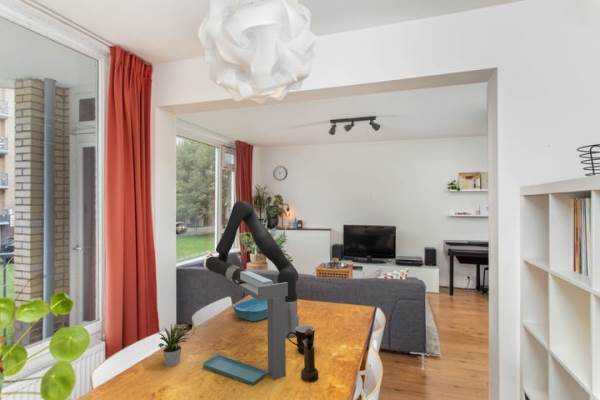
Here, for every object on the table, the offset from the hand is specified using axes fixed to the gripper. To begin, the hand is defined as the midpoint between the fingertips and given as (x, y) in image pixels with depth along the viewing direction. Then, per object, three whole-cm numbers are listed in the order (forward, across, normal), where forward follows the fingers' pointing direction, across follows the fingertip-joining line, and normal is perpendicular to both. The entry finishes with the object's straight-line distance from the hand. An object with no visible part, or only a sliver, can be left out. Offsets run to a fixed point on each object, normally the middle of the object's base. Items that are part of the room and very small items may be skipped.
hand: (261, 287), depth 148 cm
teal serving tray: (+13, -20, +28) cm, 37 cm away
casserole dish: (-24, +38, +30) cm, 54 cm away
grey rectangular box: (+6, -12, -5) cm, 15 cm away
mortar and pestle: (+39, -8, +20) cm, 44 cm away
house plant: (-12, -31, +34) cm, 48 cm away
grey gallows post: (+20, -12, +24) cm, 34 cm away
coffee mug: (+24, +9, +22) cm, 34 cm away
